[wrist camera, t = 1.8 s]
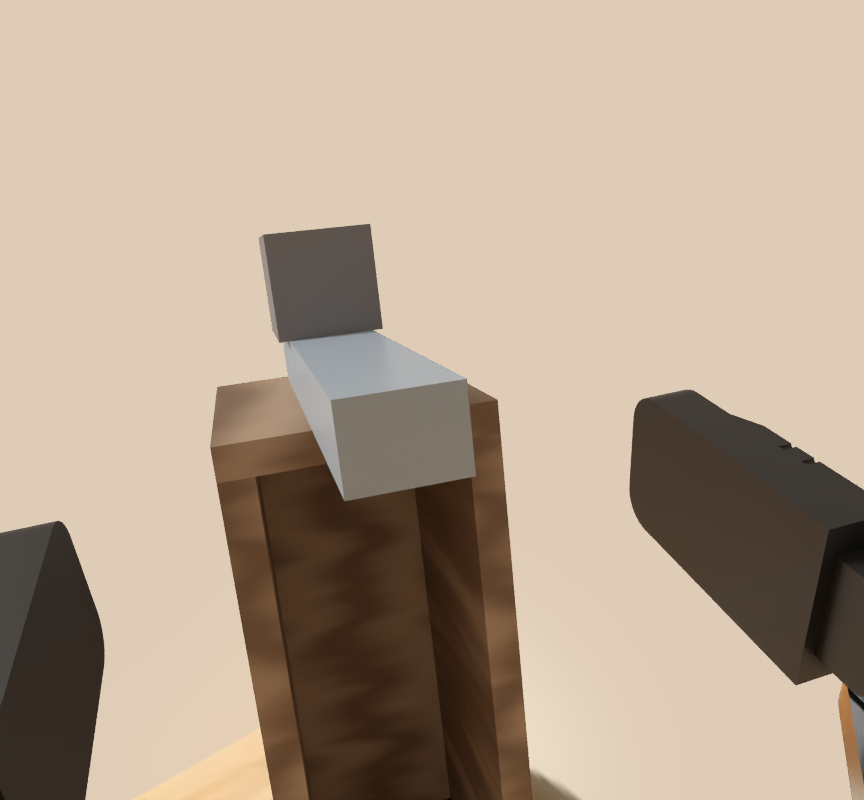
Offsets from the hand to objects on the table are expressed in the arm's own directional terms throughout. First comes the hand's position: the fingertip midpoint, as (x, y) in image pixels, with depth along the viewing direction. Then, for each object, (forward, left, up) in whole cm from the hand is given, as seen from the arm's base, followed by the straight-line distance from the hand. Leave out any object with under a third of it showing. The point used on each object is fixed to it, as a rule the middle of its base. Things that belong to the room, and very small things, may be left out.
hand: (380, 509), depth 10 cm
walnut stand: (+3, +26, -33) cm, 43 cm away
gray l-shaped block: (+3, +21, -4) cm, 22 cm away
